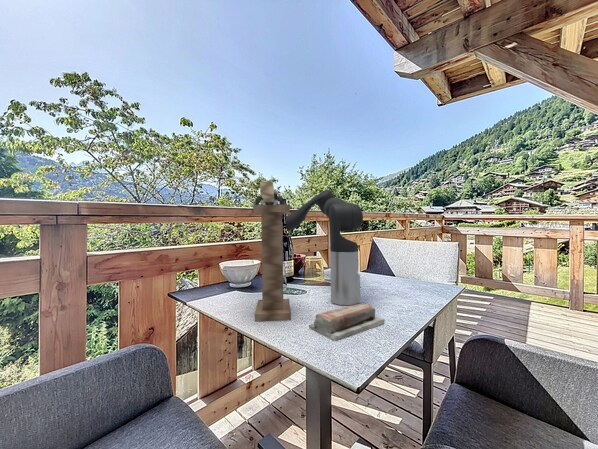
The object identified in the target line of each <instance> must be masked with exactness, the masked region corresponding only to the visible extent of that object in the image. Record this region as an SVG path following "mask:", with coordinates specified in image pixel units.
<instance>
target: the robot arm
mask: <svg viewBox="0 0 598 449" xmlns="http://www.w3.org/2000/svg"><path fill="white" fill-rule="evenodd" d="M260 202H261V203H260ZM278 202H279V203H278ZM253 205H287V204H286V201H285V199H284V198H283V196H282V195H278V191H277V190H276V189H274V202H265V201H264V200H263V198H262V196H261V195H260V196H259V195H257V196H256V197H255V200H254V203H253ZM315 205H317V206H318V208H319V209H320V212H321V213H322V214H323V215H325V216H326V217H327V218H328V221H329V222H328V224H329V241H330V242H329V243H330V244H329V245H330V246H329V250H330V251H329V252H330V254H329V255H330V302H331V303H332V304H335V305H339V306H352V305H357V304H361V274H360V273H359V253H358V252H359V250H358V249H359V246H358V243H357V242H356V241H353V240H349V239H348V238H346V237H344V236H343V235H342V234H341V232H353V231H354V232H355V231H357V230H359V229H360V228H361V227H362V225H363V222H364V214H363V211H362V209H361V207H360V206H359V205H358V204H357V203H348V202H347V201H345V200H343V199H341V198H339V197H335V195H334V193H333V192H332V190H331V189H326V190H325V189H324V191H321V192H319V193H318V194H317V195H314V197H312V198H311V199H309V200H308V201H307V202H306V203H304V204H303V205H302V206H300V207H299V208H298V209H296V210H295V211H293V212H292V213H289V214H287V216H285V217H286V222H287V225H286V228H287V231H288V230H289V232H290V231H292V230H294V229H295V228H298V227H299V226H300V225H301V224H302V223H303V222H304V221H305V219H306V217H307V216H308V213H309V211H310V210H311V208H312V207H314V206H315Z"/></svg>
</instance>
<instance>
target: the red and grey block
mask: <svg viewBox="0 0 598 449" xmlns="http://www.w3.org/2000/svg"><path fill="white" fill-rule="evenodd" d="M385 320H386V319H385V318H382V317H378V316H376V308H375V307H373V306H372V305H370V304H367V303H366V304H363V303H357V304H354V305H347V306H345V307H340V308H336V309H331V310H328V311H324V312H320V313H317V314H315V319H314V321H313V323H311V324H309V325H308V328H309V329H311V330H313V331H314V332H317V333H318V334H320V335H322V336H324V337H326V338H327V339H329V340H332V341H334V342H336V341H339V340H342V339H344V338H348V337H352V336H355V335H357V334H359V333H363V332H366V331H369V330H371V329H375V328H377V327H380V326H382V325H384V324H385Z"/></svg>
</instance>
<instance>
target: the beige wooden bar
mask: <svg viewBox="0 0 598 449" xmlns="http://www.w3.org/2000/svg"><path fill="white" fill-rule="evenodd" d="M259 183H260V185H259V187H260V196H262V198H263V200H264V201H265V202H274V190H275V187H274V181H260V182H259Z"/></svg>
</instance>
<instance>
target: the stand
mask: <svg viewBox="0 0 598 449" xmlns="http://www.w3.org/2000/svg"><path fill="white" fill-rule="evenodd" d="M290 207H291V205H290V204H286V205H280V204H279V205H261V204H259V205H254V204H253V208H252V211H253V213H254V214H257V215H261V273H262V274H261V284H262V286H261V289H262V290H261V292H262V297H261V298H262V299H258V300H257V303H256V307H255V310H254V322H274V321H275V322H276V321H277V322H279V321H292V312H291V304H290V299H289V298H284V247H283V246H284V243H283V242H284V237H283V222H282V219H283V215H289V214H290V212H291V208H290Z"/></svg>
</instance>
